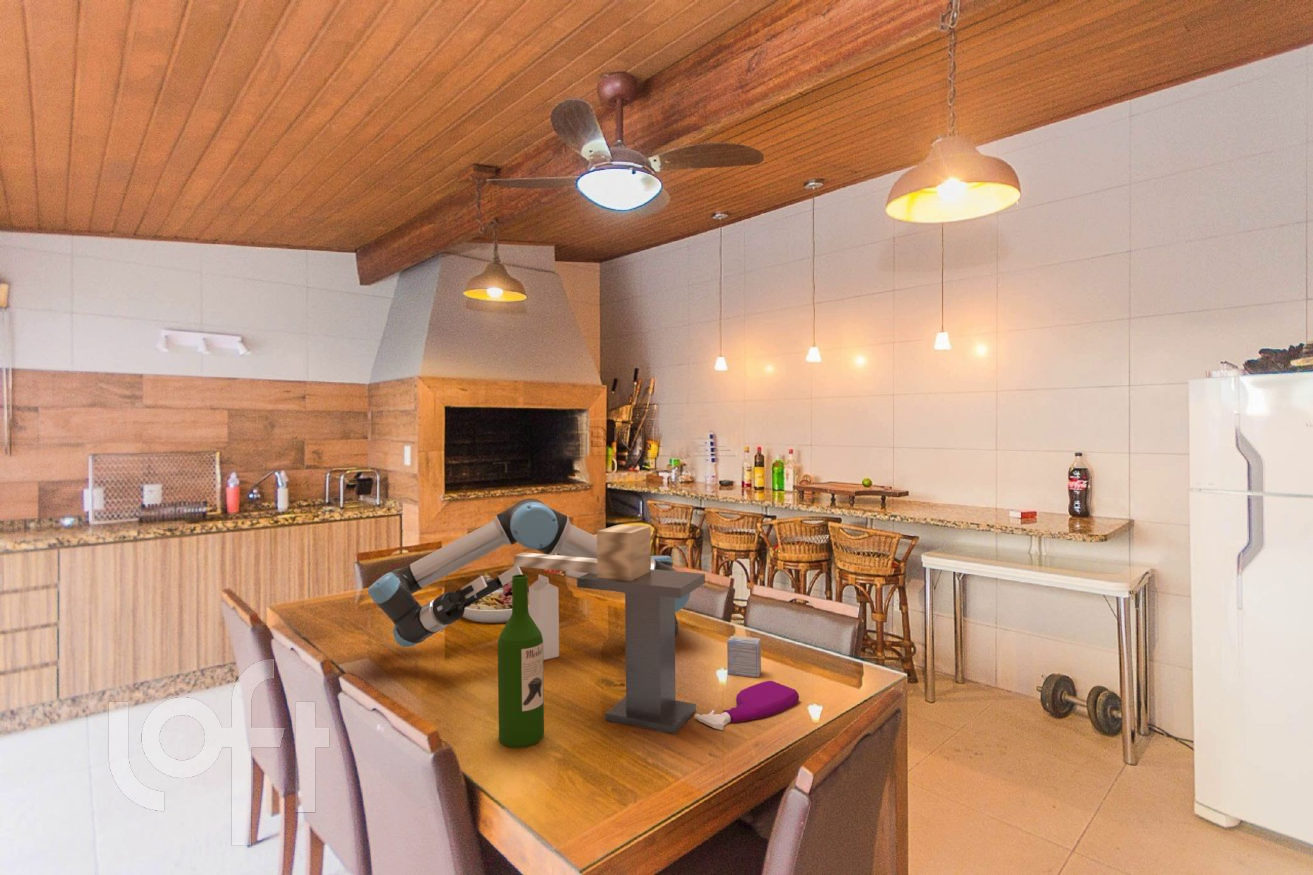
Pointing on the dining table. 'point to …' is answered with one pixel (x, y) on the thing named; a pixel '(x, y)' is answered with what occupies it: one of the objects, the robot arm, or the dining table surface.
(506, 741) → the wine bottle
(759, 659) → the medicine box
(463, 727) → the dining table surface
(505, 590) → the bowl
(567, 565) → the wooden l-shaped block
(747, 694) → the spray bottle
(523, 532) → the robot arm
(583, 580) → the stand
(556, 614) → the milk
